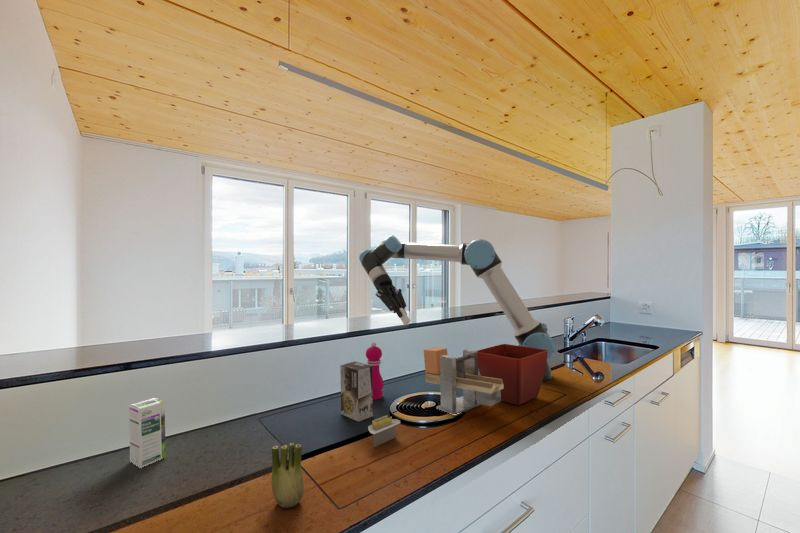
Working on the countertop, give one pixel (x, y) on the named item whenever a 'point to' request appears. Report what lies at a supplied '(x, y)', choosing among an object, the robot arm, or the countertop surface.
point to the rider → (433, 359)
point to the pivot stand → (449, 384)
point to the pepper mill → (375, 370)
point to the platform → (383, 429)
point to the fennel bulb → (287, 476)
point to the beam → (473, 383)
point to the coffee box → (356, 391)
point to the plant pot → (514, 370)
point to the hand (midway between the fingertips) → (407, 322)
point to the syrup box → (147, 432)
